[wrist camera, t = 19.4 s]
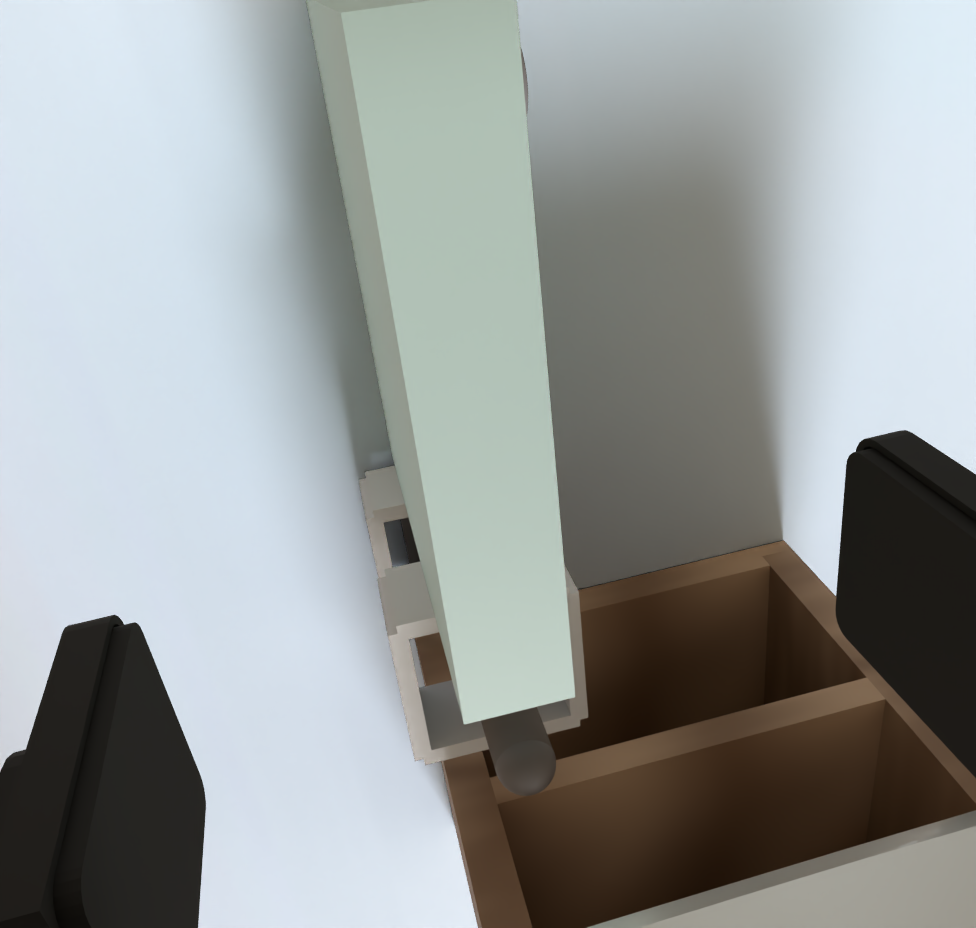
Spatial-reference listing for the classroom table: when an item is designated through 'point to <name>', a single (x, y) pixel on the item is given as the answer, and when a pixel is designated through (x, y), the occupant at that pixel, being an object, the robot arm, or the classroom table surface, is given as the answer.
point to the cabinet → (691, 750)
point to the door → (455, 358)
